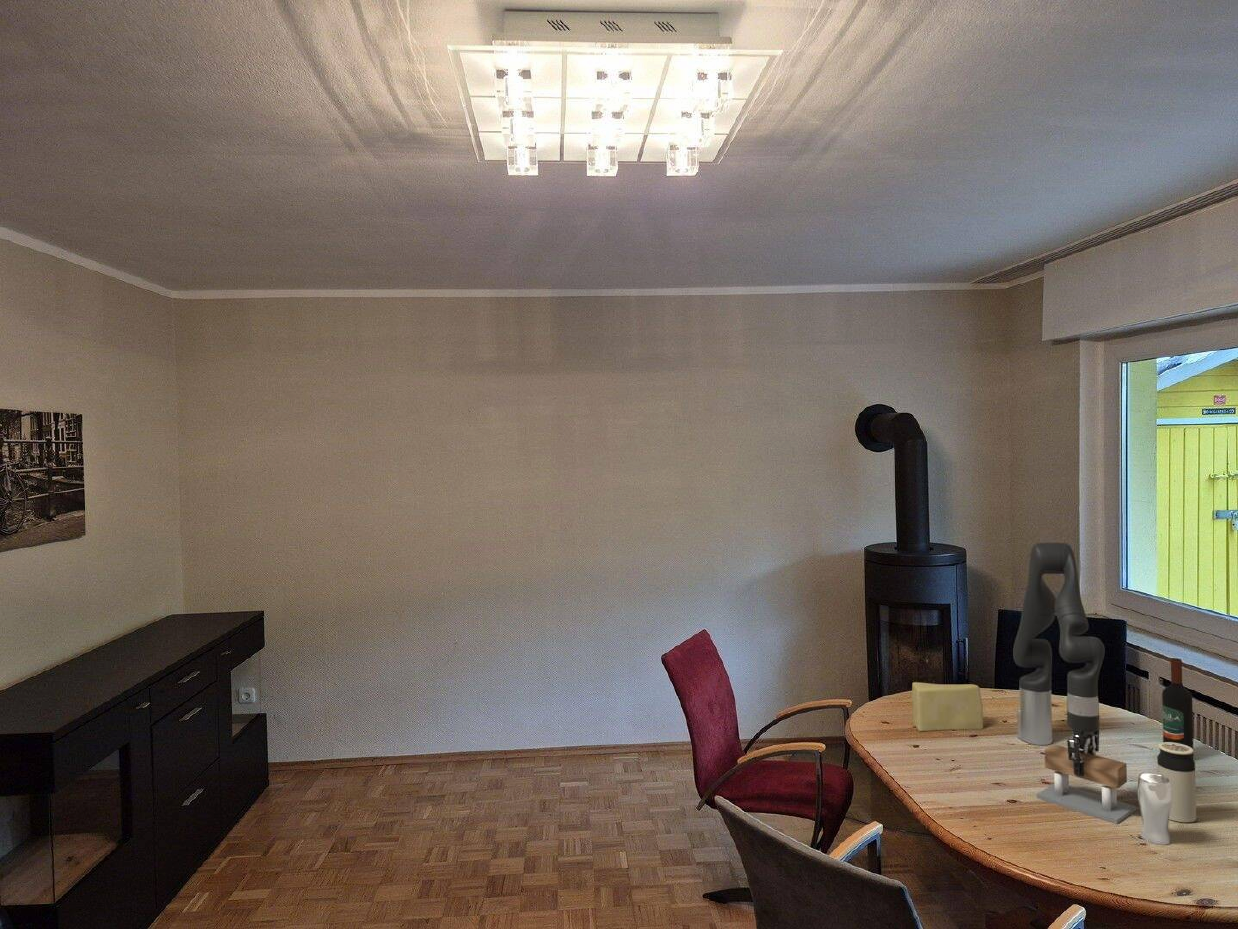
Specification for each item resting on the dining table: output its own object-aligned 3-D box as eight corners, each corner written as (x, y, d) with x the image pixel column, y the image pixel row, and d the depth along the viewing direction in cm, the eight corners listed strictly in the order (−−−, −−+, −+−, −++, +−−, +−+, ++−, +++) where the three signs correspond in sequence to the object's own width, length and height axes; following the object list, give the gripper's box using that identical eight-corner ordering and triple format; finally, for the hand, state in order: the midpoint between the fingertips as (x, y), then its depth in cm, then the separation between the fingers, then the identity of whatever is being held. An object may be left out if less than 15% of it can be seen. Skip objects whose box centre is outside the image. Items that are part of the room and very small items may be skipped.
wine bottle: (1198, 762, 235) (1196, 663, 235) (1170, 761, 237) (1168, 662, 236) (1186, 752, 242) (1183, 656, 242) (1158, 751, 244) (1156, 655, 244)
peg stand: (1036, 797, 215) (1035, 772, 215) (1057, 785, 222) (1056, 761, 222) (1116, 824, 199) (1116, 797, 199) (1136, 810, 206) (1135, 783, 206)
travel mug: (1197, 826, 197) (1196, 755, 196) (1159, 819, 201) (1157, 750, 201) (1194, 813, 203) (1193, 744, 203) (1157, 807, 208) (1156, 739, 207)
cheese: (978, 724, 273) (977, 681, 273) (987, 734, 263) (986, 689, 263) (912, 722, 277) (911, 680, 276) (918, 732, 267) (917, 688, 267)
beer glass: (1131, 833, 194) (1130, 773, 194) (1158, 831, 195) (1156, 771, 195) (1153, 847, 188) (1151, 785, 187) (1180, 844, 188) (1178, 783, 188)
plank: (1126, 782, 205) (1126, 763, 205) (1117, 788, 202) (1117, 769, 202) (1054, 762, 220) (1054, 744, 219) (1045, 767, 216) (1044, 750, 216)
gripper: (1085, 720, 203) (1087, 784, 203) (1109, 707, 212) (1111, 769, 212) (1055, 713, 209) (1057, 775, 209) (1080, 701, 218) (1081, 761, 218)
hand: (1084, 772), depth 211 cm, fingers closed on plank, 6 cm apart
